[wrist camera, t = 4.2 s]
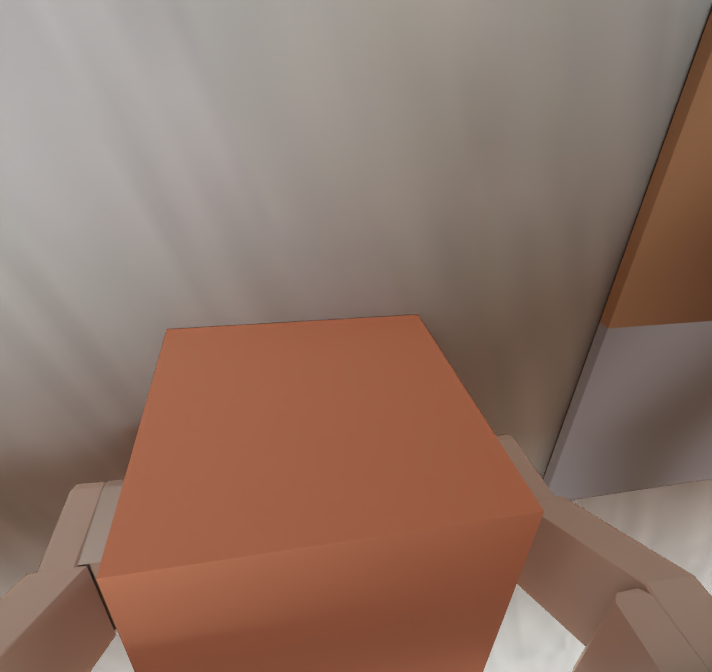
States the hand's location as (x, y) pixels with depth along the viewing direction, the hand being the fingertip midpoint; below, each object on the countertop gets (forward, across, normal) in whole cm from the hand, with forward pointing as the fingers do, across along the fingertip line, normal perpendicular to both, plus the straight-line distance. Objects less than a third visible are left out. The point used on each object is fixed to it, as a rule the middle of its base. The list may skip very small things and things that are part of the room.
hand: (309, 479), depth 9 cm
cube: (+2, 0, 0) cm, 2 cm away
